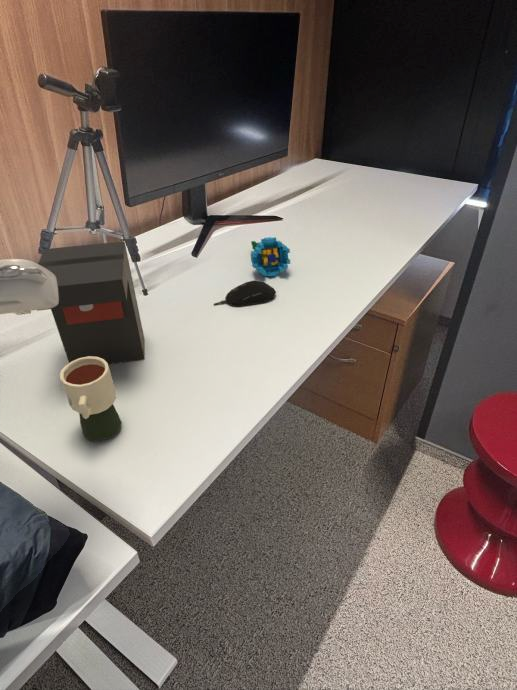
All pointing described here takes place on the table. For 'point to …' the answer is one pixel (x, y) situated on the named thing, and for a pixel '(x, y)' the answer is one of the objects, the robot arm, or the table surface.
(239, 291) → the gaming mouse
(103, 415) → the character mug
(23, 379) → the table surface
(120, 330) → the dark brown box
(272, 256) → the toy flower
